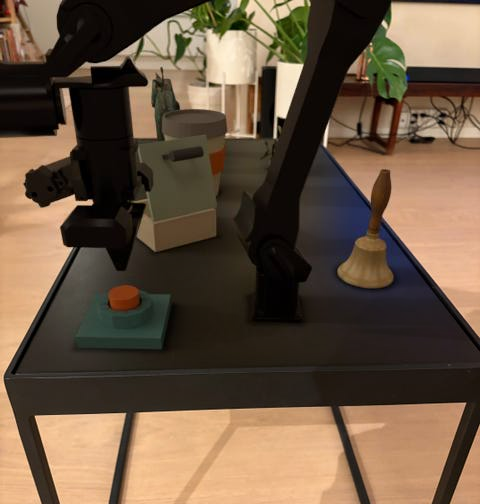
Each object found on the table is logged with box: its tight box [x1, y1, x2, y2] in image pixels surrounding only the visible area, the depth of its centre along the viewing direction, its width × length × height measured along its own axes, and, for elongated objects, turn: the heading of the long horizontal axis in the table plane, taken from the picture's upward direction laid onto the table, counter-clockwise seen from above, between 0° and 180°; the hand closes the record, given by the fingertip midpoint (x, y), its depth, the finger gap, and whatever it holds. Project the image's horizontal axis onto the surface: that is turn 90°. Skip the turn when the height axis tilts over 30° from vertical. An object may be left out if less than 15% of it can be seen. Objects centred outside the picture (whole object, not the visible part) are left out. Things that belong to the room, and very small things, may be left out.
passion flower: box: [260, 125, 282, 169], centre depth 117 cm, size 11×11×12 cm
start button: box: [108, 284, 140, 311], centre depth 63 cm, size 4×4×2 cm
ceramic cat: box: [150, 66, 181, 142], centre depth 119 cm, size 20×6×20 cm, turn 10°
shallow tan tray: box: [133, 198, 217, 253], centre depth 88 cm, size 11×12×5 cm
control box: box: [75, 289, 173, 350], centre depth 64 cm, size 10×10×4 cm
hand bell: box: [337, 168, 394, 290], centre depth 73 cm, size 8×8×16 cm
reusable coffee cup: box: [162, 108, 228, 197], centre depth 102 cm, size 13×13×15 cm
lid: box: [137, 135, 218, 222], centre depth 79 cm, size 11×12×5 cm
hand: (121, 269), depth 61 cm, fingers closed
